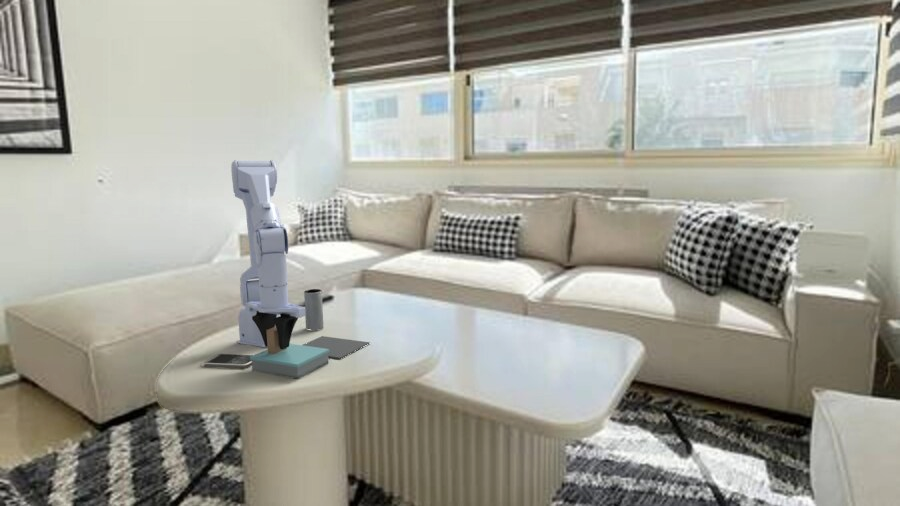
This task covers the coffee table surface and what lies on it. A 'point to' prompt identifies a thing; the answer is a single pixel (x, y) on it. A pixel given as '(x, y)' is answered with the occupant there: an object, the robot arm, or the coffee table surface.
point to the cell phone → (228, 361)
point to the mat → (336, 346)
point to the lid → (287, 352)
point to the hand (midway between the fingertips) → (277, 346)
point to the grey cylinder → (313, 309)
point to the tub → (290, 367)
